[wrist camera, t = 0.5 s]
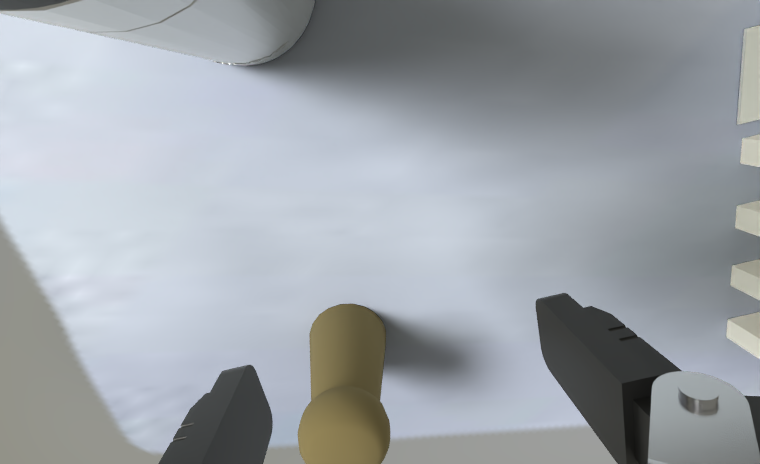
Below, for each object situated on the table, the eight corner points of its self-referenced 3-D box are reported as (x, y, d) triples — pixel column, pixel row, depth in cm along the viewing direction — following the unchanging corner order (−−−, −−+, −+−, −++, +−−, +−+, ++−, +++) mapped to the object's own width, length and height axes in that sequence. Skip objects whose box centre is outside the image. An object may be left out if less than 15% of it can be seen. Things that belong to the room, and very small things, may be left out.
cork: (306, 365, 32) (281, 498, 21) (313, 299, 30) (289, 410, 19) (380, 372, 32) (391, 503, 22) (391, 307, 30) (409, 419, 20)
